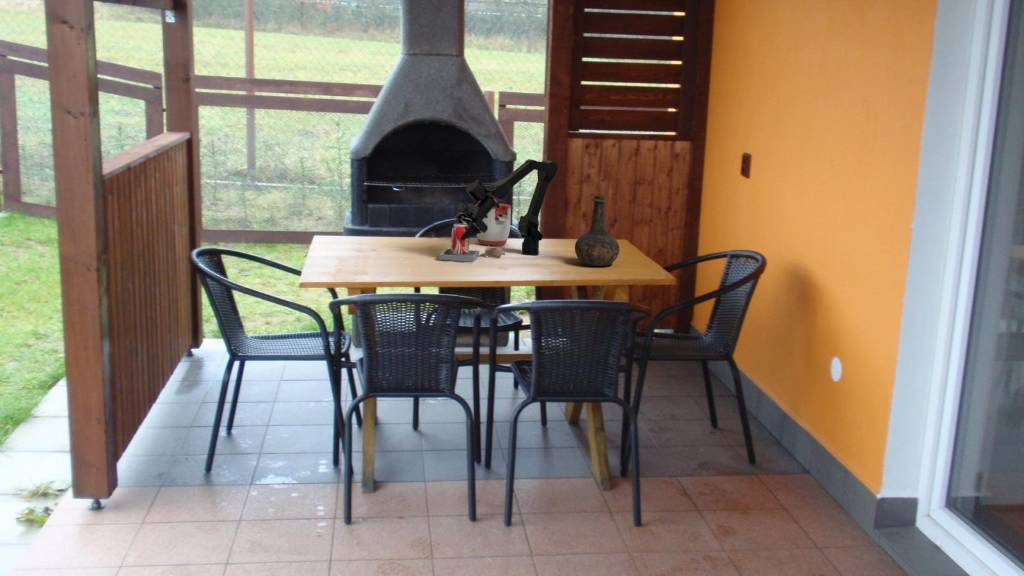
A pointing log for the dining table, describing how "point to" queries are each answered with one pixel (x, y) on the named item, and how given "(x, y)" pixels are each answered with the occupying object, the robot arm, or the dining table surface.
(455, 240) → the soda can
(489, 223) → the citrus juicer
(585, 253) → the glass bottle
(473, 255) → the slate tray
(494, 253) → the brown block with knob
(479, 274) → the dining table surface
